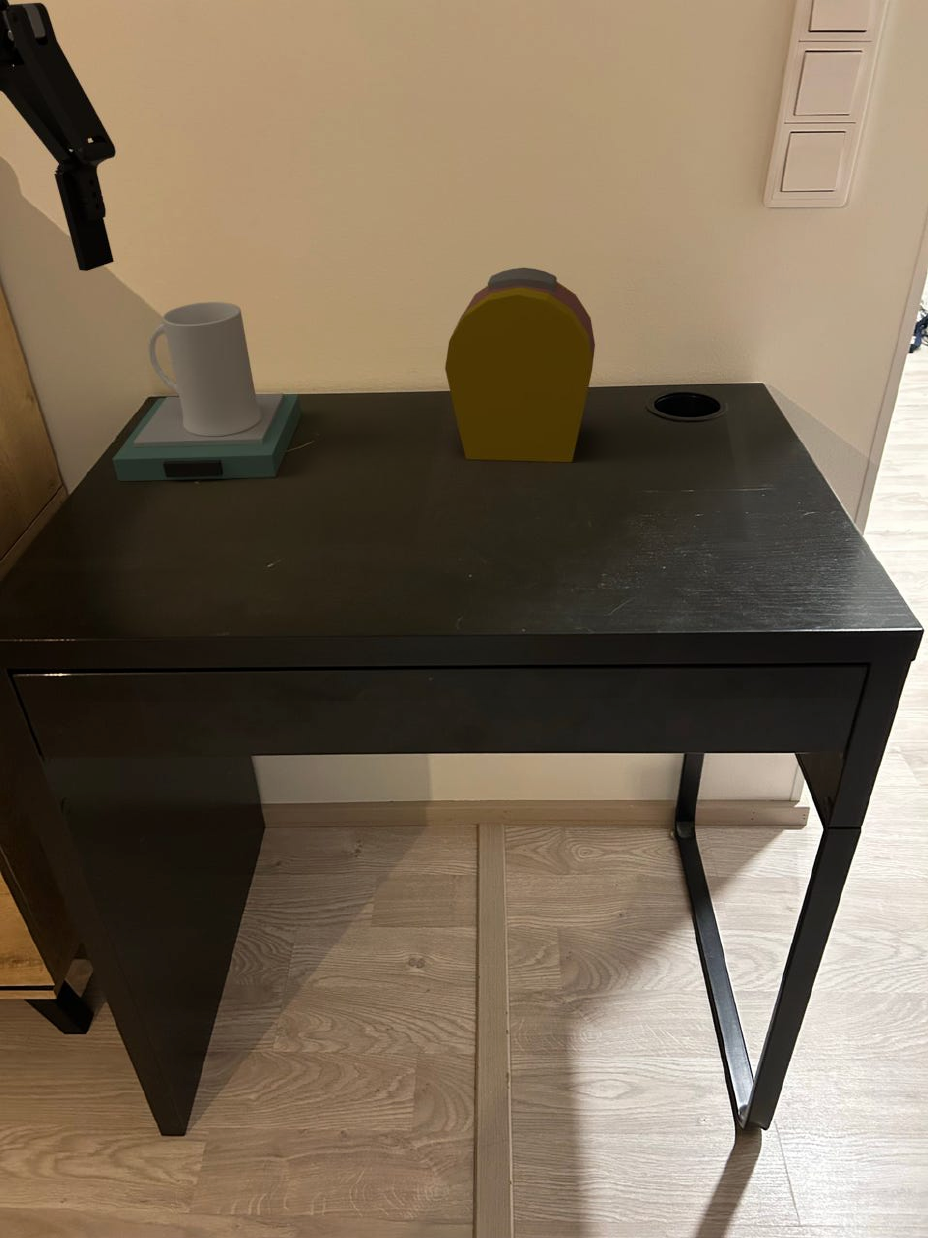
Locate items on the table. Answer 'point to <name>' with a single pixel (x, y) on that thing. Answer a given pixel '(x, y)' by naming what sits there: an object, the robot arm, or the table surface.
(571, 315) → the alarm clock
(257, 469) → the scale
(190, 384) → the mug
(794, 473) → the table surface
